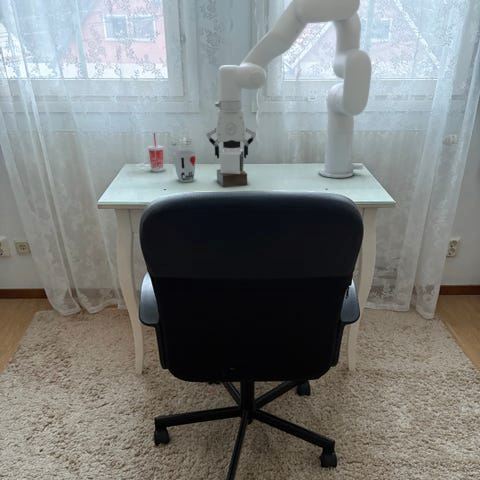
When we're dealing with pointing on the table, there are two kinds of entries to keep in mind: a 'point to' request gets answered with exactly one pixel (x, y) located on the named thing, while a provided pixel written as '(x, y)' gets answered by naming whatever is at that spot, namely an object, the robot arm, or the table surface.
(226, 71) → the robot arm
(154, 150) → the beverage cup
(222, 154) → the medicine bottle
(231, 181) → the walnut block
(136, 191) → the table surface
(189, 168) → the cup
